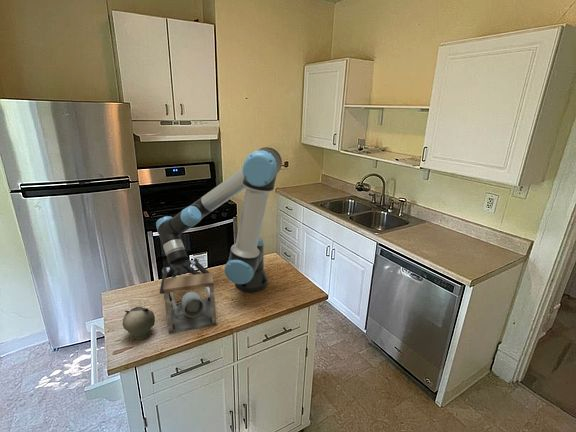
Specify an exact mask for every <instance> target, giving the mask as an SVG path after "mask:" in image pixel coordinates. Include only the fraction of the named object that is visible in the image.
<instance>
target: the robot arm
mask: <svg viewBox="0 0 576 432" xmlns="http://www.w3.org/2000/svg"><path fill="white" fill-rule="evenodd" d="M282 166H283V159H282V156H281V154H280V153H279V151H277V150H276V149H275V148H273V147H269V146H268V147H267V146H265V147H264V146H263V147H261V148H259V149H257V150H254V151H253V152H251V153H250V154H248V155H247V157H246V158H245V160H244V162H243V164H242V168H241V169H239V170H237V171H236V172H235V173H233V174H232V175H231V176H229V177H227V178H226V179H225V180H224V181H222V182H221V183H220V184H218V185H217V186H215V187H214V188H212V189H211V190H210V191H208V192H207V193H205V194H204V195H203V196H201V197H199V198H198V199H197V200H195V201H194V202H193V203H192V204H190V205H189V206H187V207H185V208H183V209H182V210H181V211H180V212H178V213H177V214H176V215H174V216H173V217H172V216H170V215H169V216H168V215H165V216H163V217H160V218H159V219H157V221H156V222H155V225H156V232H157V234H158V237H159V239H160V242H161V244H162V247H163V250H164V253H165V256H166V259H167V262H168V264H169V266H167V267H165V266H163V267H162V270H161V272H162V277H161V283H160V288H159V294H160V295H164V292H163V286H164V279H167V277H168V276H167V275H168V274H169V272H172V273H173V274H172V276H171V278H174V277H177V276H178V277H181V276H182V275H187V274H191V275H197V274H204V273H210V271H209V270H207V269H206V268H205V266H203V265H202V264H201V263H200V262H199V260H198V259H197V258H194V259H193V260H190V259H189V257H188V253H187V251H186V250H185V246H184V242H183V241H182V237H181V235H183V233H185V232H187V231H188V230H190V229H191V228H193V227H195V226H196V225H198V223H200V222H201V220H202V219H203V218H204V217H206V216H207V215H209V214H211V213H212V212H213V211H214V210H217V208H219V207H221V206H222V205H223V204H225V203H226V202H229V200H231V199H233V197H235V196H237V195H238V194H239V193H241V192H242V191H244V190H245V192H244V196H243V197H244V199H243V203H242V207H241V208H242V209H241V214H240V218H239V219H240V220H239V224H238V228H237V234H236V241H235V243H234V244H232V245H231V247H230V252H229V256H228V260H227V262H226V263H225V266H224V274H225V277H226V278H227V279H228V280H229V281H230V282H232V283H233V284H234V285H235V288H236V289H237V290H239V291H240V292H244V293H256V292H259V291H262V290H264V289H265V288H267V286H268V284H269V282H268V280H269V279H268V276H267V273H266V270H265V264H264V263H265V262H264V258H265V256H264V250H265V249H264V248H265V247H264V246H265V245H264V240H263V238H261V237H260V235H261V230H262V225H263V220H264V216H265V211H266V207H267V201H268V197H269V194H270V193H271V192H273V191H274V188H275V185H276V180H277V175H278V174H279V172H280V170H281V169H282ZM192 266H195V269H194V267H192ZM196 269H197V270H196ZM198 270H199V271H198ZM204 290H205V293H206V296H207V299H208V298H209V297H210V288H209V287H204ZM173 293H174V292H170V293H169V299H170V304H171V303H172V306H173V309H174V310H175V309H176V308H177V305H176V303H177V302H176V300H175V298H174V294H173Z"/></svg>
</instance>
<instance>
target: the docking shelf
mask: <svg viewBox="0 0 576 432" xmlns="http://www.w3.org/2000/svg"><path fill="white" fill-rule="evenodd" d="M204 287H209V289H210V297H209V298H208V297H207V298H204V299H203V298H201V300H202V302H203V304H204V309H203V311H202V313H201V314H200V315H198V316H196V317H188V316H186V315H184V316H182V317H176V315H175V313H174V312H175V310H176V309H175V310H174V309H173V306H172V303H171V301H170V299H169V293H170V292H172V293H174V292H175V293H176V292H182V291H190V290H196V289H202V288H204ZM204 289H205V288H204ZM163 292H164V294H163V298H164V306H165V313H166V321H167V327H168V329H167V330H168V334H175V333H181V332H186V331H191V330H196V329H198V330H199V329H203V328H208V327H213V326H217V324H218V323H217V312H216V311H217V310H216V299H215V284H214V278H213V272H209V273H204V274H203V273H202V274H197V275H193V274H191V275H184V276H182V275H181V276H176V277H174V278H172V277H169V278H167V277H166V279H164V286H163ZM181 304H182V302H176V305H177V307H178V306H180V305H181ZM182 312H183V308H181V309H180V310H179V311H178V314H180V313H182Z"/></svg>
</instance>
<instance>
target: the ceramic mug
mask: <svg viewBox="0 0 576 432" xmlns="http://www.w3.org/2000/svg"><path fill="white" fill-rule="evenodd" d="M181 303H182V304H181V305H180V306H178V307H177V308H176V310H175V312H174V313H175V315H176V317H182V316H184V315H186V316H188V317H196V316H198V315H200V314H201V313H202V311H203V309H204V304H203V302H202V298H201V296H200V295H199V293H197V292H196V291H188V292H186V293H185V294H184V295H182V298H181ZM181 308H183V312H182V313H180V314H178V311H179V310H180V309H181Z"/></svg>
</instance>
